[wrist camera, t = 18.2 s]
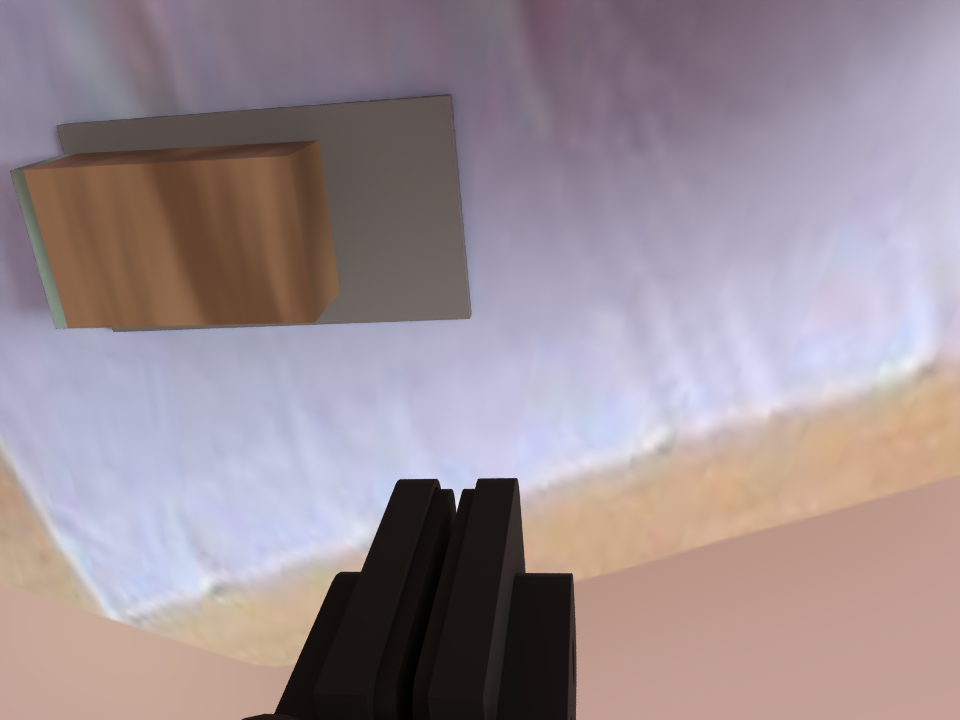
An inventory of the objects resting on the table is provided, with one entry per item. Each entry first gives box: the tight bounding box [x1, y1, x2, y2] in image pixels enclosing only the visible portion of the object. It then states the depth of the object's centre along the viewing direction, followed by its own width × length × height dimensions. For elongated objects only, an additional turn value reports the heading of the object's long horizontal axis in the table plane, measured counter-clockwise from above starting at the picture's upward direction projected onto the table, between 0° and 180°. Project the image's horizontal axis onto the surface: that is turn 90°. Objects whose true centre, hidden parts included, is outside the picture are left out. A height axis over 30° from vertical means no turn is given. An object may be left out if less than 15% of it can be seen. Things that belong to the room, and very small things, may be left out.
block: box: [10, 140, 340, 329], centre depth 37 cm, size 4×7×12 cm
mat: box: [57, 95, 471, 332], centre depth 38 cm, size 18×10×1 cm, turn 95°
